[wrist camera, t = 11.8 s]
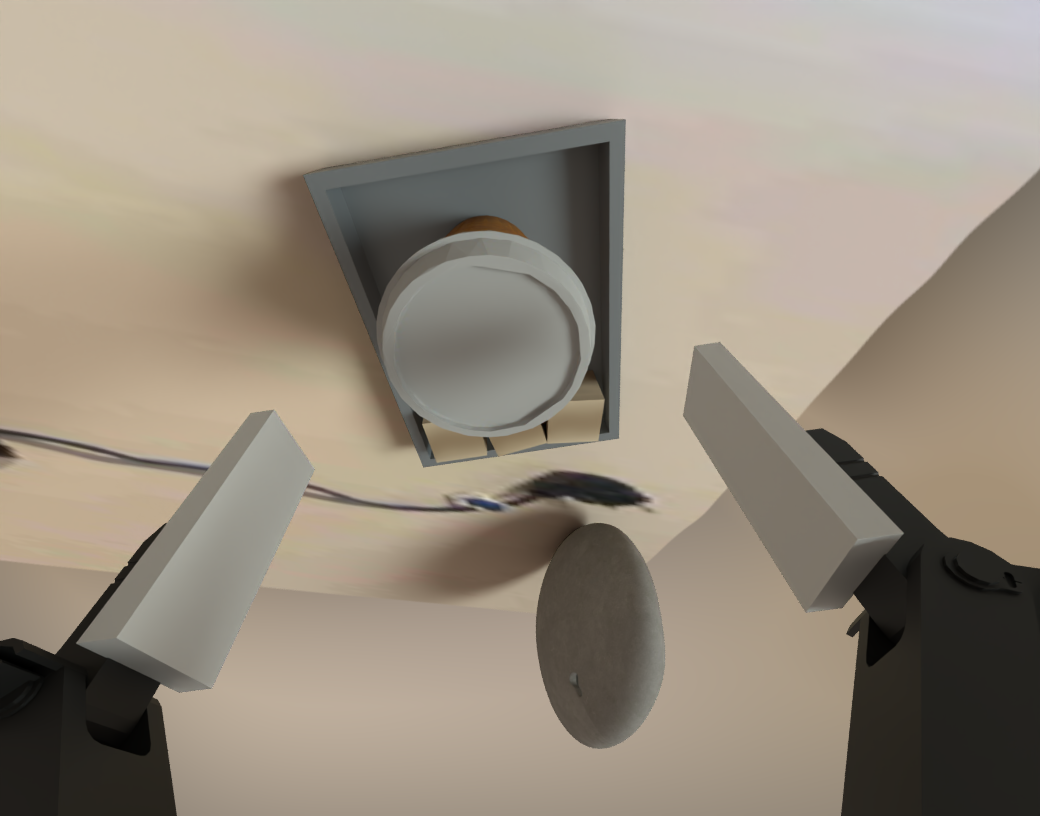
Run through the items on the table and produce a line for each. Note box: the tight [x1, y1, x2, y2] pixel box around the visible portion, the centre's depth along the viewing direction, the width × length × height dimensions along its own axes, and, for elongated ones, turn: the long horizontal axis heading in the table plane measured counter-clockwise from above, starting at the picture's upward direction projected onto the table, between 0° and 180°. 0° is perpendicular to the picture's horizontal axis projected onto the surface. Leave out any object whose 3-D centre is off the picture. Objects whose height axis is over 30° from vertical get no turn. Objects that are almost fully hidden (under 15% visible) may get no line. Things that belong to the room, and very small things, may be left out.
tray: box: [303, 119, 626, 467], centre depth 27 cm, size 22×17×3 cm
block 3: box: [544, 370, 605, 444], centre depth 31 cm, size 4×4×4 cm
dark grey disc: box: [536, 523, 665, 749], centre depth 38 cm, size 18×7×19 cm, turn 155°
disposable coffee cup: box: [376, 215, 596, 437], centre depth 21 cm, size 10×10×12 cm
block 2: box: [489, 422, 547, 457], centre depth 31 cm, size 4×4×4 cm
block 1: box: [422, 418, 487, 463], centre depth 31 cm, size 4×4×4 cm
